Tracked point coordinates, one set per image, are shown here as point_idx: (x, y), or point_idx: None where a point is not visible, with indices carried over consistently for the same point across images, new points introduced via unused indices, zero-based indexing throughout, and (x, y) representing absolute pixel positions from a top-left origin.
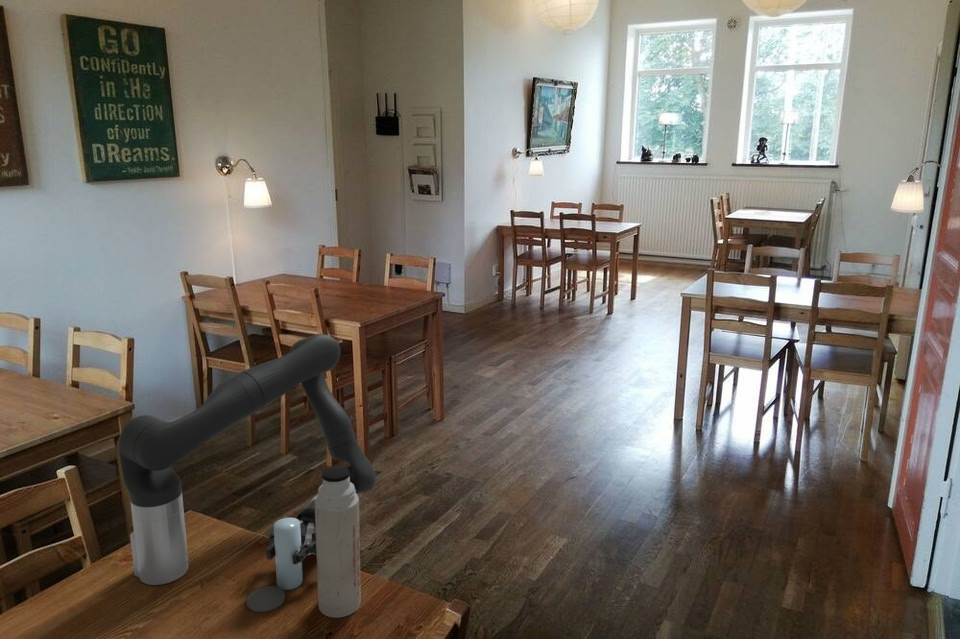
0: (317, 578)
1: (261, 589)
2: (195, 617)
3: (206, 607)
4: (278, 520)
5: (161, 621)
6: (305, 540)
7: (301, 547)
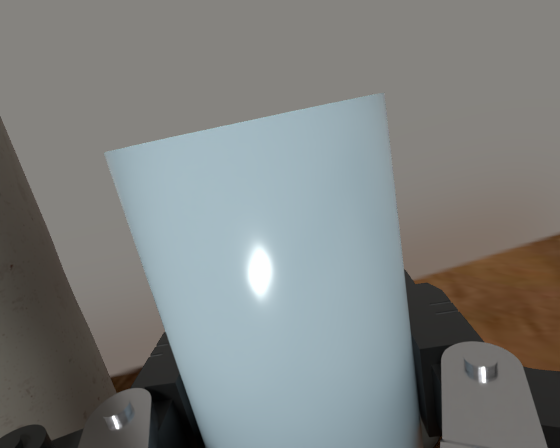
0: (90, 341)
1: (421, 419)
2: (491, 285)
3: (515, 310)
4: (381, 94)
5: (548, 256)
6: (142, 438)
7: (170, 355)
